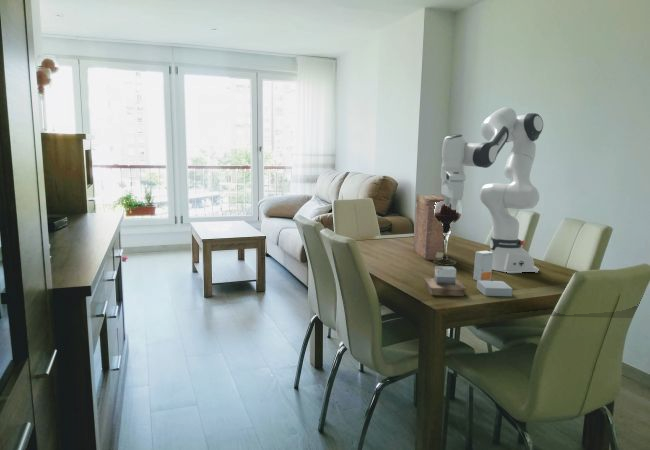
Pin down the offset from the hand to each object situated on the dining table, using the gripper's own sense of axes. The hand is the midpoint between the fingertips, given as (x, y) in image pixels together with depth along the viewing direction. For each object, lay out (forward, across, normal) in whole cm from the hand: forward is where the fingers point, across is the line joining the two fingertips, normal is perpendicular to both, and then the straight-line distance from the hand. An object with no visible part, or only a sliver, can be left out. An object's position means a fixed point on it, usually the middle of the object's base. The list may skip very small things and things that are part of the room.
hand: (450, 208), depth 196 cm
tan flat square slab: (+29, +21, -7) cm, 37 cm away
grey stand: (+29, +22, +12) cm, 38 cm away
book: (+31, -42, +1) cm, 52 cm away
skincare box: (+30, +5, +13) cm, 33 cm away
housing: (+26, +21, -7) cm, 34 cm away
